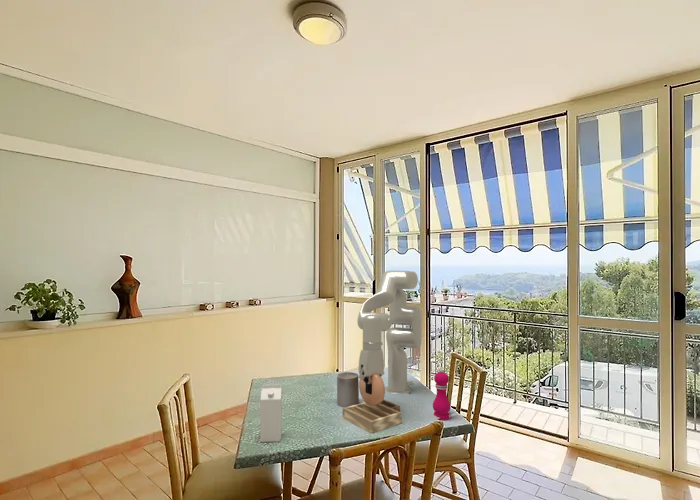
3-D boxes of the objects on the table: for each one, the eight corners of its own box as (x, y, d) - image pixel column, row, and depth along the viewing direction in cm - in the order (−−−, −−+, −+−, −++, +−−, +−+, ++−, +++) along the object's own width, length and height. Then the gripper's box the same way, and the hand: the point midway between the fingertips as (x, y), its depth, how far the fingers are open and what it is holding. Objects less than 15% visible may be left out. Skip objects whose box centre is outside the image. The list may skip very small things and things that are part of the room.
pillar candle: (354, 401, 184) (354, 368, 185) (361, 408, 175) (361, 374, 175) (334, 403, 181) (334, 370, 182) (340, 411, 172) (340, 376, 172)
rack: (372, 411, 171) (372, 400, 171) (402, 425, 157) (402, 412, 157) (342, 420, 161) (342, 408, 161) (371, 436, 147) (371, 422, 147)
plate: (363, 399, 165) (363, 367, 165) (384, 408, 155) (385, 374, 155) (358, 400, 163) (359, 368, 164) (380, 409, 153) (380, 375, 154)
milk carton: (262, 433, 148) (263, 382, 149) (281, 433, 149) (282, 381, 150) (259, 442, 141) (260, 388, 142) (280, 441, 142) (280, 387, 143)
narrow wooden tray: (375, 403, 181) (375, 395, 182) (400, 414, 169) (400, 405, 169) (365, 406, 178) (365, 398, 178) (390, 417, 165) (390, 408, 165)
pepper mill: (451, 415, 168) (451, 367, 168) (449, 421, 161) (449, 371, 161) (433, 413, 170) (433, 365, 171) (431, 419, 163) (431, 370, 164)
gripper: (380, 342, 168) (380, 387, 167) (350, 346, 158) (349, 394, 157) (393, 345, 162) (392, 391, 161) (362, 350, 152) (362, 399, 151)
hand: (371, 392), depth 159 cm, fingers closed on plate, 2 cm apart
